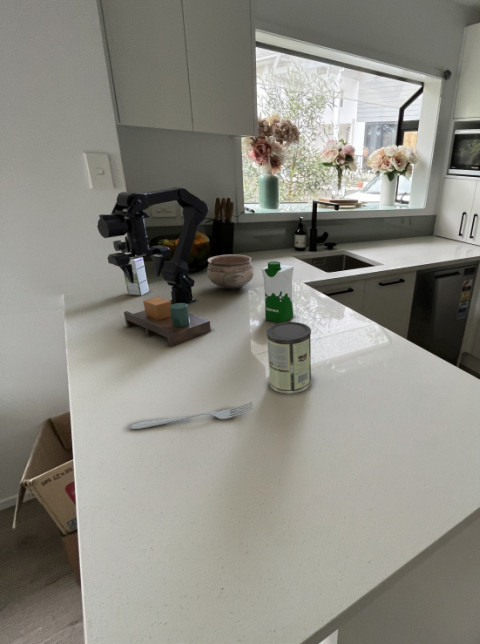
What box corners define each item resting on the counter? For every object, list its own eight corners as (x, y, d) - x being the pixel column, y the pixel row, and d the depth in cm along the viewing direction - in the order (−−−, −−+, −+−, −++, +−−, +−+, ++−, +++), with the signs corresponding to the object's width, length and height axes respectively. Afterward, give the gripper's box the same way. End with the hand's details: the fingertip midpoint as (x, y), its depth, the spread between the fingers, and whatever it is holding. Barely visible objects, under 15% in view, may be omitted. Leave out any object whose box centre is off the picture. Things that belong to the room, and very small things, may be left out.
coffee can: (281, 368, 99) (279, 319, 93) (317, 376, 96) (317, 325, 90) (261, 388, 90) (257, 335, 84) (300, 397, 87) (299, 342, 81)
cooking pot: (202, 282, 165) (198, 255, 160) (243, 277, 174) (241, 251, 170) (218, 299, 146) (215, 268, 141) (264, 292, 155) (263, 263, 150)
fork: (132, 422, 77) (130, 415, 76) (252, 407, 83) (252, 400, 82) (128, 432, 74) (126, 425, 74) (253, 416, 80) (253, 409, 79)
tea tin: (183, 319, 118) (180, 301, 116) (193, 323, 115) (191, 305, 113) (169, 324, 114) (166, 306, 112) (179, 328, 112) (176, 310, 109)
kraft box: (160, 310, 124) (157, 296, 122) (173, 315, 121) (170, 301, 119) (145, 315, 121) (143, 300, 119) (158, 320, 117) (155, 305, 115)
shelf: (166, 313, 131) (164, 300, 130) (211, 330, 119) (209, 316, 117) (126, 326, 121) (123, 311, 119) (171, 346, 108) (168, 330, 107)
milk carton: (261, 320, 128) (258, 262, 120) (276, 311, 136) (274, 256, 128) (283, 325, 125) (281, 266, 117) (297, 316, 132) (296, 260, 124)
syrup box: (149, 291, 153) (143, 256, 147) (141, 296, 147) (134, 259, 142) (136, 290, 153) (129, 255, 148) (127, 295, 148) (119, 258, 142)
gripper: (148, 227, 132) (156, 270, 139) (93, 234, 118) (104, 282, 124) (168, 230, 127) (175, 275, 133) (112, 238, 112) (123, 288, 119)
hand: (145, 279), depth 127 cm, fingers open, 9 cm apart
